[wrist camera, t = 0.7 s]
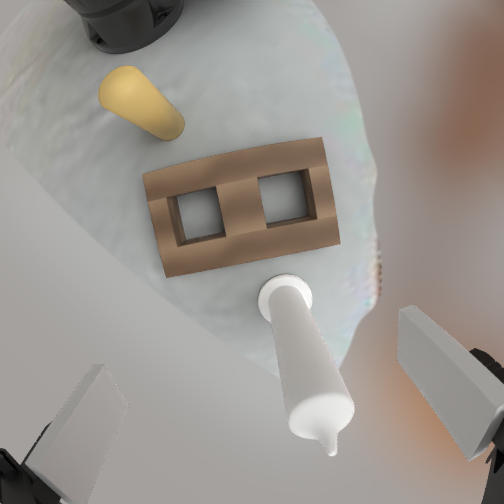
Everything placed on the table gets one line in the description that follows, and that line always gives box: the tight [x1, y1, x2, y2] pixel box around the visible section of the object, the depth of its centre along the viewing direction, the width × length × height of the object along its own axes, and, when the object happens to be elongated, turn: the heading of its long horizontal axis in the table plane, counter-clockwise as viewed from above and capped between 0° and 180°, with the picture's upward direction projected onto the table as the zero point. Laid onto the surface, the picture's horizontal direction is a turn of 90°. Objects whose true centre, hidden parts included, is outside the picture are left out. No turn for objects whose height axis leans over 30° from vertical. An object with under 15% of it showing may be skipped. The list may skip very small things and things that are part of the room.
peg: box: [98, 66, 185, 141], centre depth 25 cm, size 4×4×15 cm
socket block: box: [142, 137, 341, 278], centre depth 32 cm, size 12×20×4 cm, turn 101°
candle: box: [258, 274, 354, 456], centre depth 25 cm, size 7×7×25 cm
